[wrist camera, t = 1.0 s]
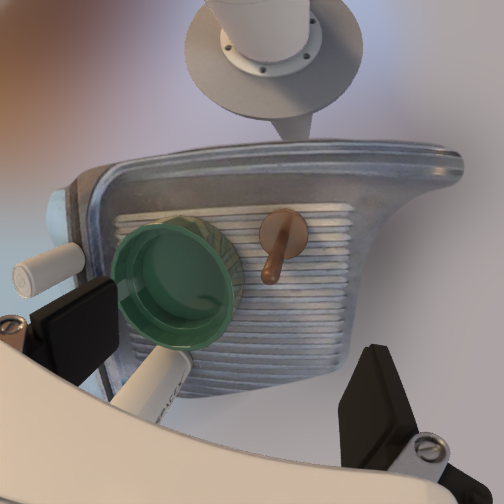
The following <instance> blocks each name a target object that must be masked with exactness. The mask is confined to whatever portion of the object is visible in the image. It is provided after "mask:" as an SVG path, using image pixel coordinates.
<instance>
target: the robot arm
mask: <svg viewBox="0 0 504 504" xmlns="http://www.w3.org/2000/svg"><path fill="white" fill-rule="evenodd" d="M204 1H205V2H206V4H207V5H208V7H209V8H210V10H211V11H212V13H213V14H214V16H215V17H216V19H217V20H218V22H219V23H220V25H221V26H222V29H221V35H220V42H221V47H222V50H223V53H224V54H225V56H226V57H227V59H228V60H229V61H230V62H231V64H232V65H234V66H235V67H236V68H237V69H238V70H240V71H242V72H244V73H246V74H248V75H251V76H254V77H260V78H281V77H286V76H290V75H293V74H295V73H297V72H299V71H301V70H303V69H304V68H306V67H307V66H308V65H310V64H311V63H312V61H313V60H314V59H315V58H316V56H317V55H318V53H319V51H320V48H321V44H322V29H321V26H320V23H319V21H318V20H317V18H316V17H315V15H314V14H313V13H312V12H311V11H310V10H309V0H204ZM311 23H313V24H311ZM229 49H231V50H230V51H228V50H229ZM305 57H307V58H308V59H304V58H305ZM262 71H266V72H265V73H262ZM30 320H31V323H30V324H29V325H28V324H27V321H26V320H25V319H24V318H23V317H21V316H18V315H6V316H2V317H1V318H0V504H492V503H493V498H492V494H491V492H490V491H489V489H488V488H487V487H486V486H485V485H483V484H482V483H480V482H478V481H477V480H475V479H473V478H472V477H470V476H468V475H467V474H465V473H463V472H462V471H460V470H459V469H457V468H455V467H454V466H452V465H451V464H449V463H448V461H449V457H450V449H449V446H448V444H447V443H446V442H445V440H444V439H442V438H441V437H440V436H438V435H436V434H434V433H430V432H420V433H419V431H418V428H417V424H416V421H415V418H414V415H413V412H412V409H411V407H410V404H409V401H408V398H407V396H406V393H405V390H404V388H403V385H402V383H401V380H400V377H399V375H398V372H397V370H396V367H395V365H394V362H393V360H392V357H391V355H390V353H389V350H388V348H387V346H383V345H377V344H371V345H370V346H369V347H365V348H364V350H363V352H362V354H361V357H360V359H359V361H358V364H357V366H356V368H355V370H354V373H353V375H352V377H351V379H350V381H349V383H348V386H347V388H346V390H345V392H344V394H343V396H342V398H341V400H340V403H339V406H338V418H339V432H340V448H341V467H336V466H326V465H318V464H311V463H304V462H298V461H292V460H286V459H279V458H274V457H269V456H264V455H260V454H255V453H250V452H246V451H242V450H238V449H234V448H230V447H227V446H223V445H219V444H216V443H212V442H209V441H205V440H202V439H199V438H196V437H193V436H190V435H187V434H184V433H181V432H178V431H175V430H172V429H169V428H167V427H164V426H161V425H159V424H156V423H154V422H151V421H149V420H146V419H144V418H141V417H139V416H137V415H134V414H132V413H130V412H127V411H125V410H123V409H121V408H119V407H116V406H114V405H112V404H110V403H108V402H106V401H104V400H102V399H100V398H98V397H96V396H94V395H92V394H90V393H88V392H86V391H84V390H82V389H81V388H79V385H81V384H82V382H84V381H85V380H86V379H87V378H88V377H89V376H90V375H91V374H92V373H93V372H94V371H95V370H96V369H97V368H98V367H99V366H100V365H101V364H102V363H103V362H104V361H105V360H106V359H107V358H108V357H109V356H111V355H112V354H113V353H114V352H115V351H116V350H117V348H118V346H119V328H118V287H117V285H116V284H115V282H114V280H113V279H110V278H107V277H104V276H98V277H96V278H94V279H92V280H90V281H89V282H87V283H85V284H83V285H81V286H79V287H78V288H76V289H74V290H72V291H70V292H68V293H67V294H65V295H63V296H61V297H60V298H58V299H56V300H54V301H52V302H51V303H49V304H47V305H45V306H44V307H42V308H40V309H38V310H37V311H35V312H33V313H32V314H30Z"/></svg>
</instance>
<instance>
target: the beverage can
mask: <svg viewBox="0 0 504 504" xmlns="http://www.w3.org/2000/svg"><path fill="white" fill-rule="evenodd" d="M84 265H85V255H84V252H83V251H82V249H81V248H80V246H78V245H77V244H75V243H67V244H65V245H62V246H59V247H57V248H54V249H52V250H49V251H47V252H44V253H41V254H39V255H37V256H34V257H32V258H29V259H27V260H24V261H22V262H20V263H18V264H17V265H15V266H14V267H13V269H12V280H13V284H14V287H15V289H16V291H17V292H18V294H19V295H20V296H21V297H22V298H24V299H28V298H32V297H34V296H36V295H38V294H39V293H41V292H43V291H45V290H47V289H49V288H50V287H52V286H54V285H56V284H58V283H60V282H62V281H64V280H65V279H67V278H69V277H71V276H73V275H75V274H77V273H79V272H81V271H82V270H83V268H84Z"/></svg>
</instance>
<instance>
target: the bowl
mask: <svg viewBox="0 0 504 504" xmlns="http://www.w3.org/2000/svg"><path fill="white" fill-rule="evenodd" d="M111 279H113V280H114V282H115V284H116V285H117V287H118V307H119V309H120V311H121V313H122V314H123V316H124V318H125V319H126V321H127V322H128V323H129V324H130V325H131V326H132V327H133V328H134V329H135V330H136V331H137V332H138V333H139V334H140V335H141V336H143V337H144V338H146V339H148V340H149V341H151V342H152V343H154V344H156V345H158V346H161V347H164V348H167V349H170V350H176V351H193V350H196V349H200V348H203V347H207V346H209V345H210V344H211V343H213V342H214V341H215V340H217V339H218V338H219V337H221V336H222V335H223V333H224V331H225V330H226V328H227V326H228V325H229V323H230V321H231V319H232V317H233V315H234V313H235V311H236V309H237V307H238V305H239V303H240V301H241V298H242V292H243V287H244V277H243V271H242V264H241V261H240V259H239V257H238V255H237V253H236V251H235V249H234V247H233V245H232V244H231V243H230V241H229V240H228V239H227V238H226V237H225V236H224V235H223V234H222V233H221V232H220V231H219V230H218V229H217V228H215V227H213V226H211V225H210V224H208V223H206V222H204V221H203V220H201V219H197V218H192V217H187V216H181V215H180V216H173V217H166V218H162V219H159V220H157V221H154V222H151V223H148V224H146V225H143V226H141V227H139V228H138V229H136V230H134V231H133V232H131V233H129V234H128V235H127V236H126V237H125V238H124V240H123V241H122V242H121V243H120V245H119V246H118V247H117V249H116V251H115V255H114V258H113V261H112V264H111Z"/></svg>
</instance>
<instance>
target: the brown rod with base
mask: <svg viewBox="0 0 504 504" xmlns="http://www.w3.org/2000/svg"><path fill="white" fill-rule="evenodd" d="M259 239H260V243H261V245H262V247H263V249H264V250H265V251H266V252H267V253H268V254H269V256H268V259H267V261H266V263H265V266H264V268H263V270H262V273H261V279H262V281H263V282H264V283H265V284H267V285H273V284H275V283H277V282H278V280H279V277H280V273H281V269H282V265H283V260H284V259H290V258H293V257H295V256H297V255H299V254H300V253H301V252H302V251H303V250H304V248H305V246H306V244H307V241H308V228H307V224H306V222H305V220H304V218H303V217H302V216H301V215H300V214H299V213H297V212H296V211H294V210H291V209H278V210H276V211H274V212H272V213H270V214H269V215H268V216H267V217H266V219H265V220H264V221H263V223H262V225H261V227H260V231H259Z"/></svg>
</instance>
